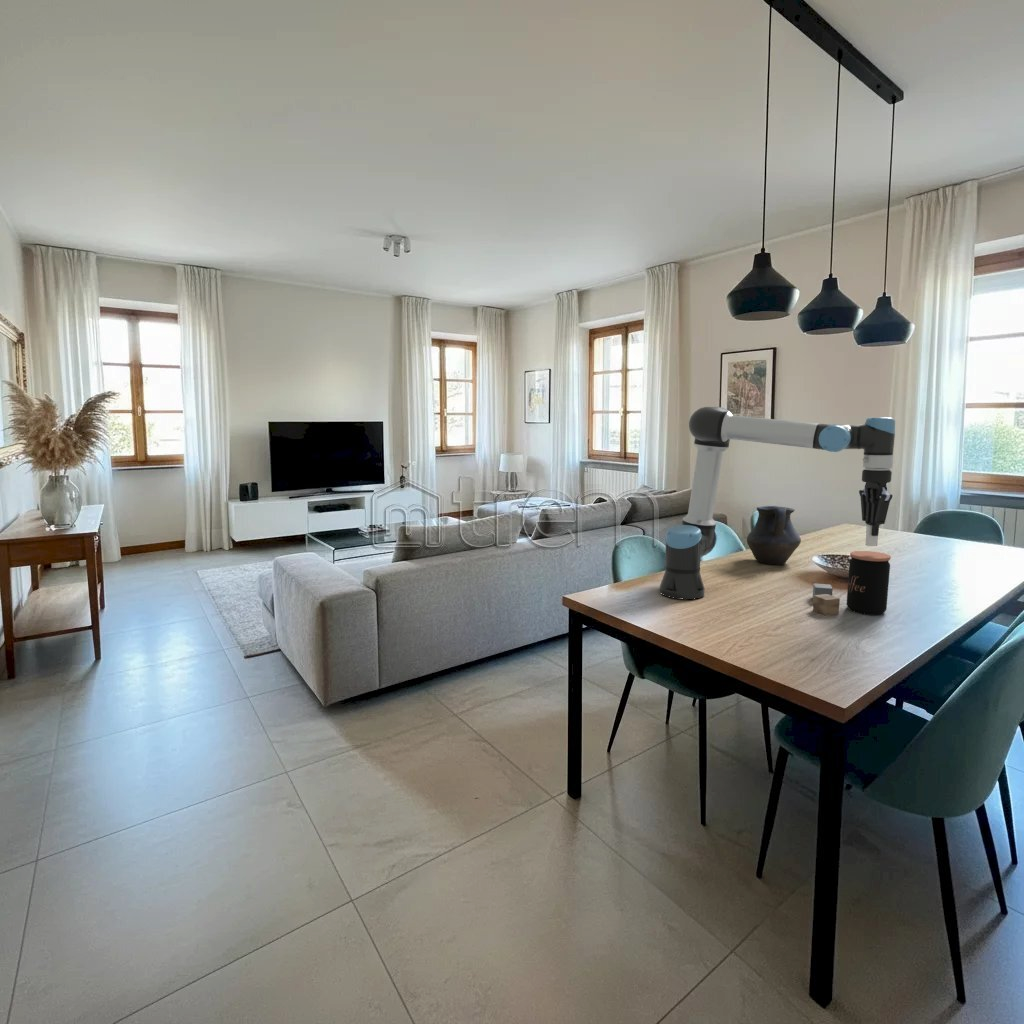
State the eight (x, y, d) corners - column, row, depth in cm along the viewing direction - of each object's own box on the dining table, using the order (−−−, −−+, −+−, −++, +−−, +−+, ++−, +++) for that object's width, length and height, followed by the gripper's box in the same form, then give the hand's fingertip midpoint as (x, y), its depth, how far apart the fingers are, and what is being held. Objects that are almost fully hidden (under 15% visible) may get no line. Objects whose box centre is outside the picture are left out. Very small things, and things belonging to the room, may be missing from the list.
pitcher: (791, 557, 250) (794, 501, 246) (806, 569, 229) (810, 508, 225) (741, 556, 254) (744, 500, 250) (752, 568, 233) (755, 507, 229)
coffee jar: (841, 604, 186) (845, 550, 183) (877, 606, 183) (882, 551, 181) (853, 615, 175) (857, 557, 172) (892, 616, 173) (897, 558, 170)
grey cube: (812, 597, 194) (813, 583, 193) (829, 599, 192) (830, 584, 191) (814, 601, 189) (815, 587, 188) (831, 603, 187) (832, 588, 186)
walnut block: (812, 610, 180) (813, 595, 180) (826, 609, 182) (827, 593, 181) (825, 615, 176) (826, 599, 175) (838, 614, 177) (839, 598, 176)
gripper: (852, 467, 179) (847, 541, 183) (877, 471, 166) (871, 550, 170) (876, 467, 179) (870, 541, 182) (903, 470, 166) (897, 549, 170)
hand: (871, 545), depth 176 cm, fingers closed
